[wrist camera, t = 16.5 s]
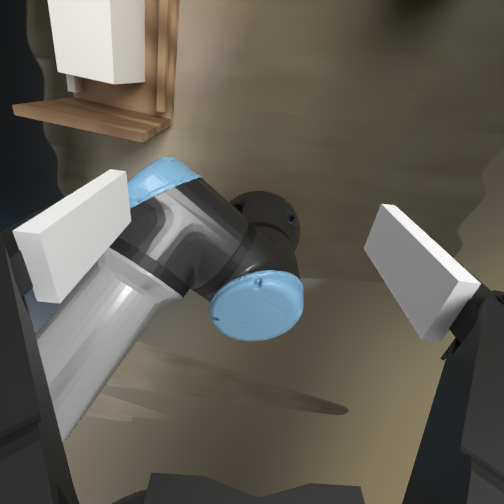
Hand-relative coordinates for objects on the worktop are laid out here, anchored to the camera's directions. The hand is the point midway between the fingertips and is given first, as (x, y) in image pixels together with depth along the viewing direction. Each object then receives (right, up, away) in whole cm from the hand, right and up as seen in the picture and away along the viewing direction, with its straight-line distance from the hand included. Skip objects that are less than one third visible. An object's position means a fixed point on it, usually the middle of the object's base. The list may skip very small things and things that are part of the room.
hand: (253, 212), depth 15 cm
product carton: (-17, +27, +21) cm, 39 cm away
